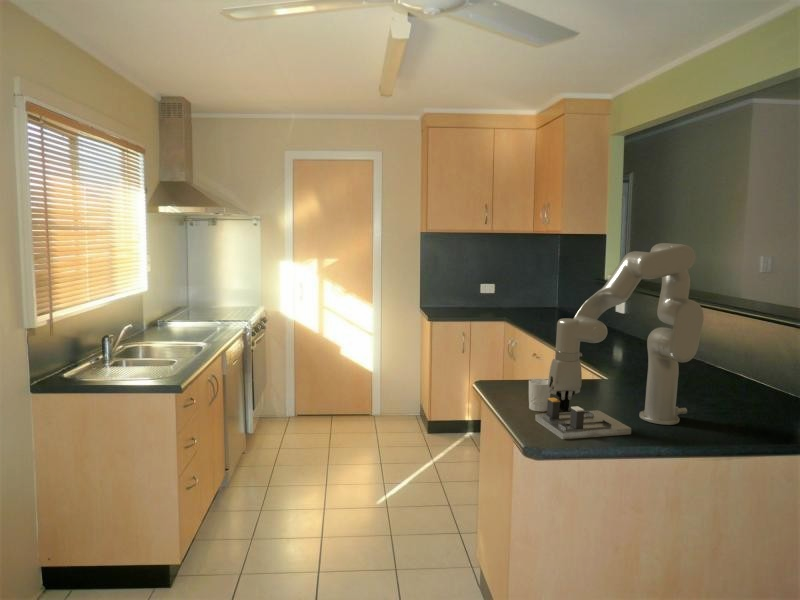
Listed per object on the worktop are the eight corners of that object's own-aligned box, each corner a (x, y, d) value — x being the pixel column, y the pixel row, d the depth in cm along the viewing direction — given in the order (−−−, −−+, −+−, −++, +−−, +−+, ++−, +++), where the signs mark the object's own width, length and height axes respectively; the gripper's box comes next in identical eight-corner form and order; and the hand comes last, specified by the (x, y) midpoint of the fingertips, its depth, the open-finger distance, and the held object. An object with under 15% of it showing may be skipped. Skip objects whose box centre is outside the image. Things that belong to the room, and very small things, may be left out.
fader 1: (553, 414, 196) (554, 397, 195) (558, 418, 193) (560, 400, 192) (546, 415, 195) (547, 397, 195) (552, 418, 192) (553, 401, 191)
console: (598, 415, 203) (598, 407, 203) (630, 434, 186) (631, 425, 185) (535, 420, 197) (535, 411, 197) (562, 439, 180) (563, 430, 179)
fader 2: (576, 424, 187) (578, 406, 186) (583, 428, 184) (584, 409, 183) (569, 425, 187) (571, 406, 186) (575, 428, 183) (577, 410, 182)
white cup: (546, 405, 213) (547, 378, 212) (552, 412, 206) (554, 384, 204) (524, 405, 213) (526, 378, 212) (530, 412, 205) (531, 384, 204)
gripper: (581, 353, 198) (577, 405, 200) (540, 354, 194) (537, 408, 197) (593, 358, 191) (589, 412, 193) (552, 359, 187) (548, 415, 189)
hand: (563, 410), depth 195 cm, fingers closed
